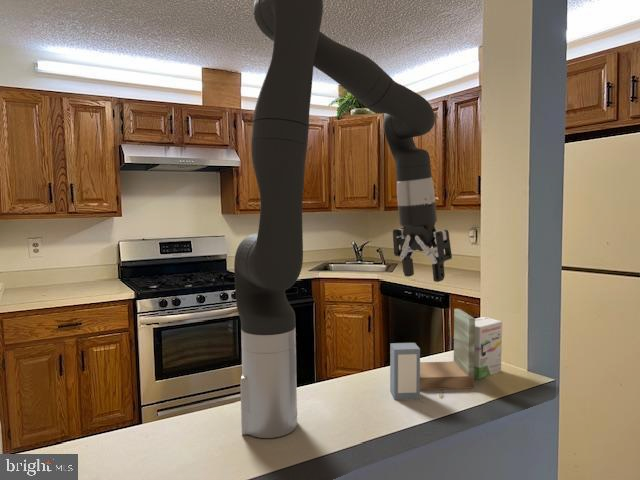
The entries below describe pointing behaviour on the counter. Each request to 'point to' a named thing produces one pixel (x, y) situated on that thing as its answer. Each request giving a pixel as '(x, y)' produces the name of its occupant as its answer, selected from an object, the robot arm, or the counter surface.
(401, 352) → the grey block
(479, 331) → the ink box
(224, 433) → the counter surface
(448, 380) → the bookend
